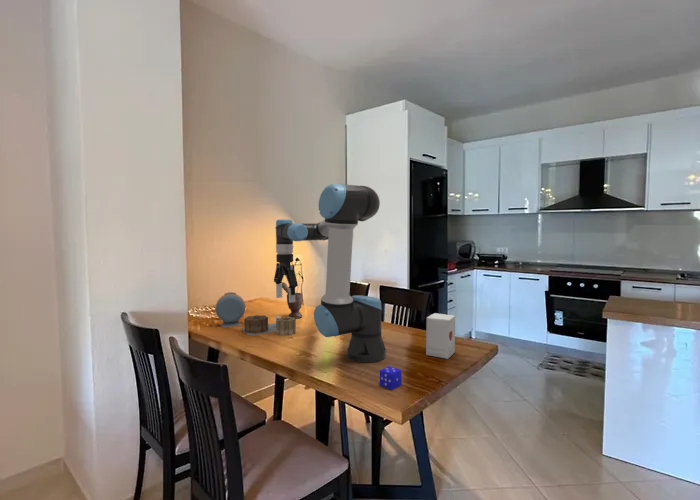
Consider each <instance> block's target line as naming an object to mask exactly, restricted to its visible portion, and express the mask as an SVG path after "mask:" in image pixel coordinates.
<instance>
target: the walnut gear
mask: <svg viewBox="0 0 700 500" xmlns="http://www.w3.org/2000/svg"><path fill="white" fill-rule="evenodd" d="M243 323H244V328H245V331H247V333H254V334H255V333H261V332H266V330H268V324H269V316H266V315H265V314H264V315H259V314H255V315H249V316H246V317H244V322H243ZM247 333H246V334H247Z"/></svg>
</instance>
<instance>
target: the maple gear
mask: <svg viewBox="0 0 700 500" xmlns="http://www.w3.org/2000/svg"><path fill="white" fill-rule="evenodd" d="M296 320H297V318H294V317H293V318H292V317H289V316H287V317H286V316H285V317H284V316H282V317H281V316H280V318H277V331H276V335H277V336H281V337H285V336H292V335H295V334H297V323H296ZM290 338H291V339H292V338H293V337H290Z"/></svg>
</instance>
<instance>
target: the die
mask: <svg viewBox="0 0 700 500" xmlns="http://www.w3.org/2000/svg"><path fill="white" fill-rule="evenodd" d="M402 372H403V371H402V369H401V368H397V367H393V366H391V365H389V366H386V367H384V368H382V369H380V370H379V386H380V387H383V388H386V389H388V390H391V391H392V390H395V389H397V388H398V387H400V386H402V384H403V383H402V377H403V376H402Z"/></svg>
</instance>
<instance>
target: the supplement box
mask: <svg viewBox="0 0 700 500" xmlns="http://www.w3.org/2000/svg"><path fill="white" fill-rule="evenodd" d="M425 326H426V331H425V332H426V333H425V334H426V336H425V338H426V339H425V340H426V341H425V356H431V357H436V358H440V359H445V360H446V359H447V360H448V359H449V358H450V357H451V356H453V354H455V348H456V340H455V339H456V316H455V315H452V314H444V313H437V312H434V313H432V314H430V315H429V316H426V325H425Z"/></svg>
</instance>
